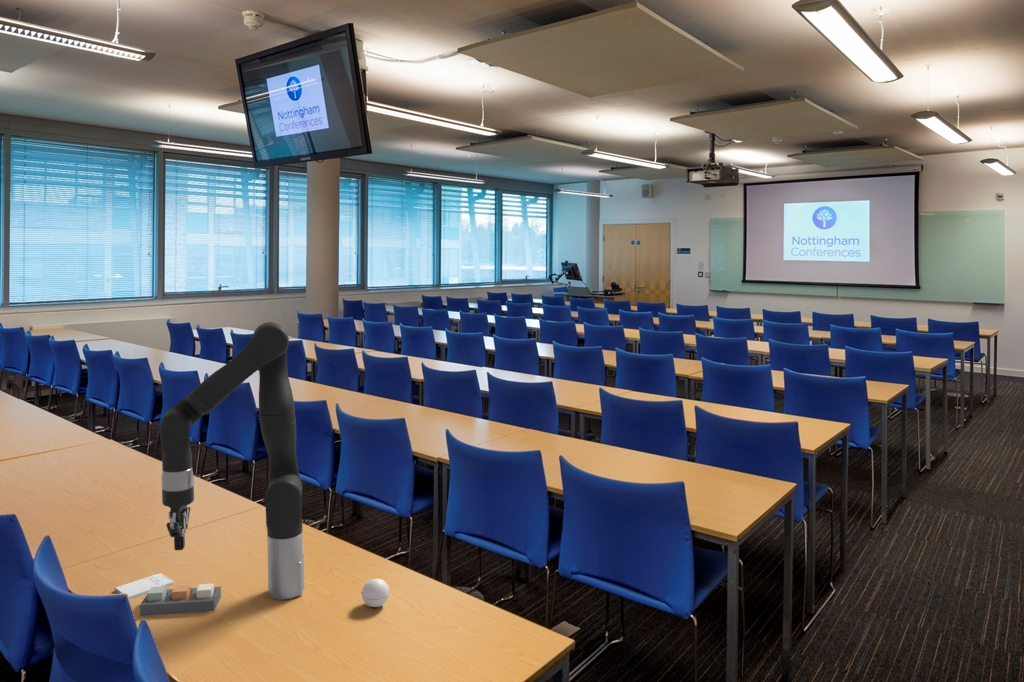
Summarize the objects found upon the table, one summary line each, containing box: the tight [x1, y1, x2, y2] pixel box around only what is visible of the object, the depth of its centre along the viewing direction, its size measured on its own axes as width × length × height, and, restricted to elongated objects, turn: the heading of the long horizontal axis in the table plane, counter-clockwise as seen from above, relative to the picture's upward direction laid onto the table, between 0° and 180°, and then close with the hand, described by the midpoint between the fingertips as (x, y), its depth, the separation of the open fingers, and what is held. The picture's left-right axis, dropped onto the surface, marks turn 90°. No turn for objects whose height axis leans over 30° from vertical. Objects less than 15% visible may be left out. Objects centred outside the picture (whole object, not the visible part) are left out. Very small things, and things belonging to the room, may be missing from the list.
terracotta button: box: [172, 584, 191, 600], centre depth 187 cm, size 4×4×3 cm
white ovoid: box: [359, 578, 390, 608], centre depth 188 cm, size 10×7×7 cm
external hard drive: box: [114, 572, 174, 600], centre depth 197 cm, size 2×8×12 cm
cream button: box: [196, 583, 215, 598], centre depth 188 cm, size 4×4×3 cm
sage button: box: [146, 586, 167, 601], centre depth 185 cm, size 4×4×3 cm
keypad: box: [139, 586, 222, 617], centre depth 187 cm, size 18×8×3 cm, turn 100°
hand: (179, 548), depth 185 cm, fingers closed
